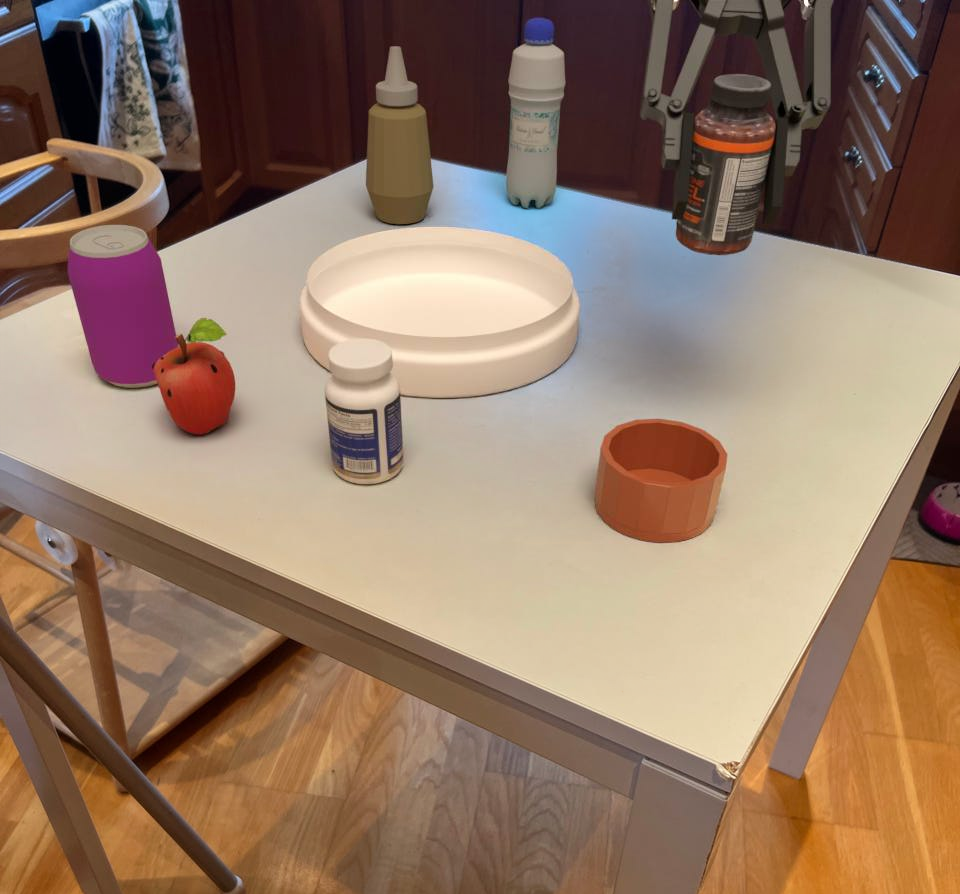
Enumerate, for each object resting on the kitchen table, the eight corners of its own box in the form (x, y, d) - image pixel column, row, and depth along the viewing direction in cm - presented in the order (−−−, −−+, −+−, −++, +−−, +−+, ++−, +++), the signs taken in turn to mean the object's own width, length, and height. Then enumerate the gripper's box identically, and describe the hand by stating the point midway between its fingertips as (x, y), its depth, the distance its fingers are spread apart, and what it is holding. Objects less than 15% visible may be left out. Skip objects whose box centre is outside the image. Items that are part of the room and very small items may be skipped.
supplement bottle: (660, 233, 77) (683, 72, 69) (725, 225, 78) (756, 66, 71) (697, 262, 73) (727, 94, 65) (765, 253, 74) (802, 88, 66)
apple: (146, 442, 80) (118, 327, 73) (180, 401, 85) (156, 290, 78) (235, 453, 79) (215, 337, 72) (264, 411, 84) (248, 299, 77)
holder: (718, 483, 78) (730, 428, 74) (709, 551, 71) (722, 495, 68) (604, 465, 79) (611, 411, 76) (585, 531, 72) (592, 474, 69)
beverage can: (199, 373, 88) (174, 240, 80) (123, 401, 84) (88, 264, 76) (155, 344, 92) (126, 214, 84) (80, 369, 88) (42, 236, 80)
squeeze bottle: (443, 225, 116) (442, 54, 104) (378, 232, 114) (370, 58, 102) (421, 202, 122) (418, 37, 109) (359, 209, 119) (349, 41, 107)
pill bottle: (378, 440, 81) (372, 327, 74) (417, 471, 78) (414, 356, 71) (318, 462, 78) (306, 347, 71) (356, 495, 75) (347, 378, 68)
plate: (470, 256, 110) (471, 206, 106) (633, 349, 94) (641, 294, 90) (254, 313, 98) (246, 259, 94) (400, 430, 82) (398, 371, 78)
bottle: (497, 207, 121) (503, 21, 107) (511, 190, 126) (519, 9, 112) (549, 214, 120) (562, 26, 106) (561, 196, 124) (576, 14, 111)
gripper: (860, -53, 74) (840, 243, 74) (613, -64, 75) (591, 229, 75) (898, -135, 67) (877, 195, 66) (623, -145, 68) (599, 180, 67)
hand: (726, 212), depth 70 cm, fingers closed on supplement bottle, 6 cm apart
